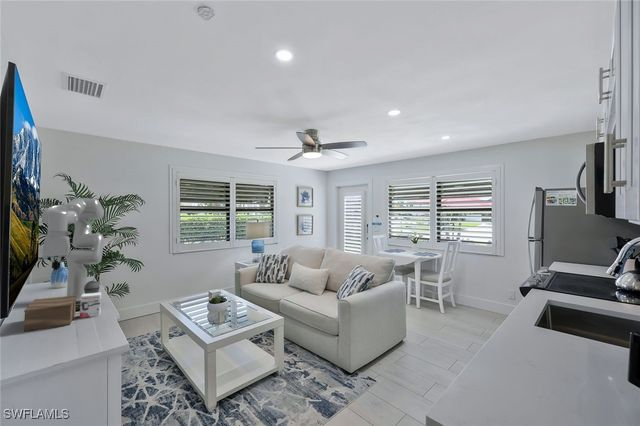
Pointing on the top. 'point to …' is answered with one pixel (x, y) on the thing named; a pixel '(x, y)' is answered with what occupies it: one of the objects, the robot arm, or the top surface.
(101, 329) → the top surface
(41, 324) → the wooden box
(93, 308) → the ink box
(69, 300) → the brown wooden board
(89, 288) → the beverage cup
